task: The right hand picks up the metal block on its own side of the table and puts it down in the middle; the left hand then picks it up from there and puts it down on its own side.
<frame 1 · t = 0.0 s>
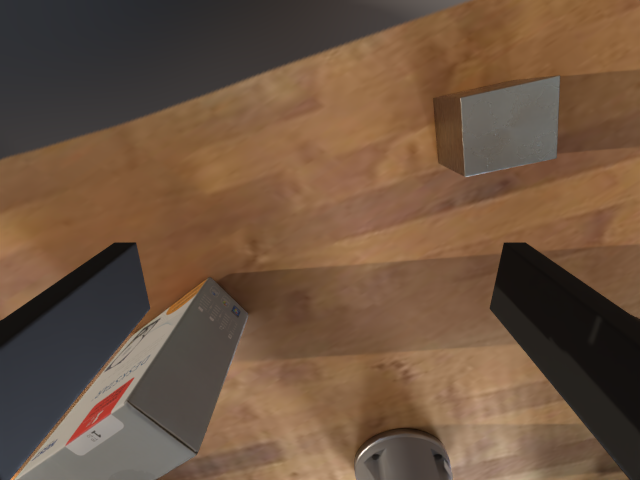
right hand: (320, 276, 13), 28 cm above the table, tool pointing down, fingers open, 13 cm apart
block: (473, 123, 37), on the table
hard drive box: (189, 324, 47), on the table
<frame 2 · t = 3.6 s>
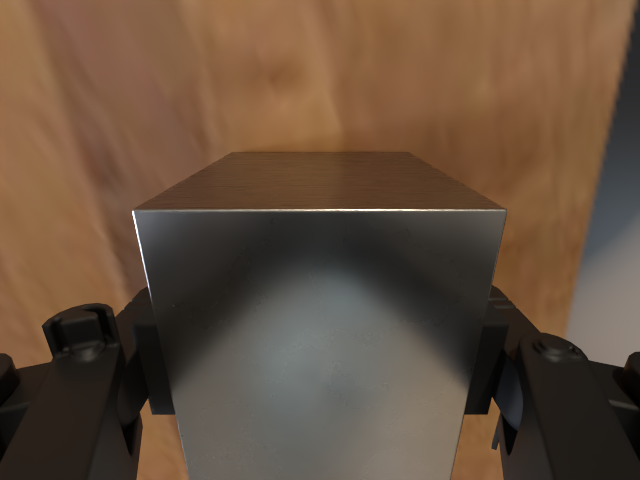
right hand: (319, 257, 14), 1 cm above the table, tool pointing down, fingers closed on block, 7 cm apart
block: (319, 248, 15), on the table, touching right hand
when the right hand's fingers open (2 cm above the table, at t = 14.4 s): block drops 1 cm, on the table.
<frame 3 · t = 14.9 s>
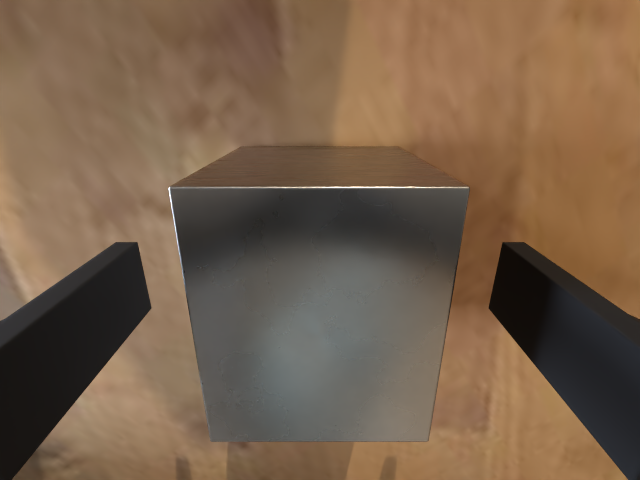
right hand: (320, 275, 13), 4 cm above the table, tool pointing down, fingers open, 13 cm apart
block: (319, 234, 16), on the table
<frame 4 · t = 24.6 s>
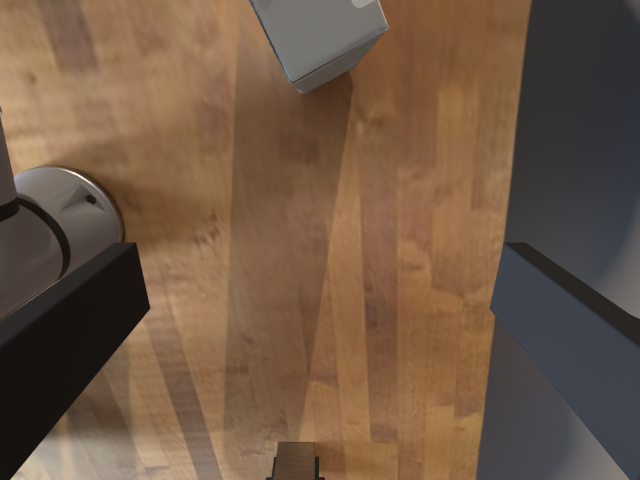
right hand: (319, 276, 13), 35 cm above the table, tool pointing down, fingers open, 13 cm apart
block: (296, 457, 66), on the table, touching left hand
hard drive box: (300, 13, 39), on the table
when the left hand's fingers open (2 cm above the table, at t = 32.9 s): block drops 1 cm, on the table.
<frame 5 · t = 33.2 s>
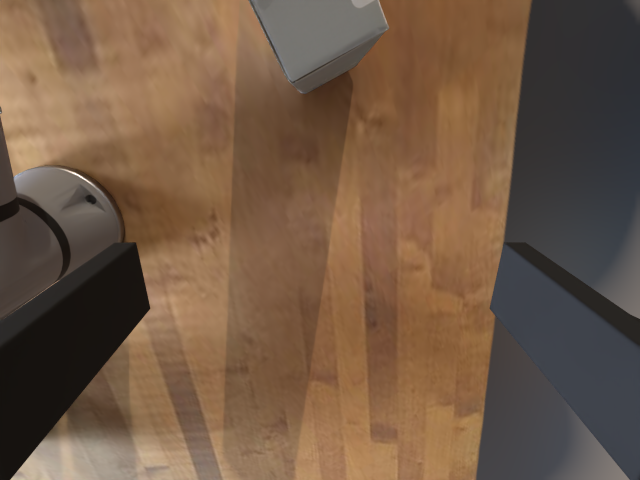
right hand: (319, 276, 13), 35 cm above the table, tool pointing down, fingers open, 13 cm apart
hard drive box: (300, 13, 39), on the table
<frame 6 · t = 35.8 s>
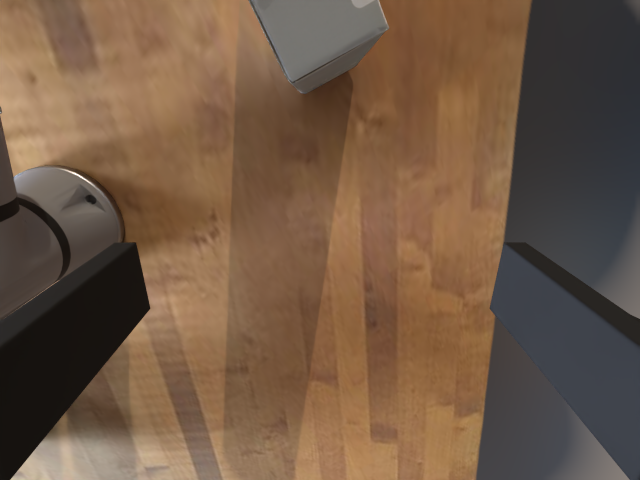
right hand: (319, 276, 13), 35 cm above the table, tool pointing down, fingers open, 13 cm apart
hard drive box: (300, 13, 39), on the table
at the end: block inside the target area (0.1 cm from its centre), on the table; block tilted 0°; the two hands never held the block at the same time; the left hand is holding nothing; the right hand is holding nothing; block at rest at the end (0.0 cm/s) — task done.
